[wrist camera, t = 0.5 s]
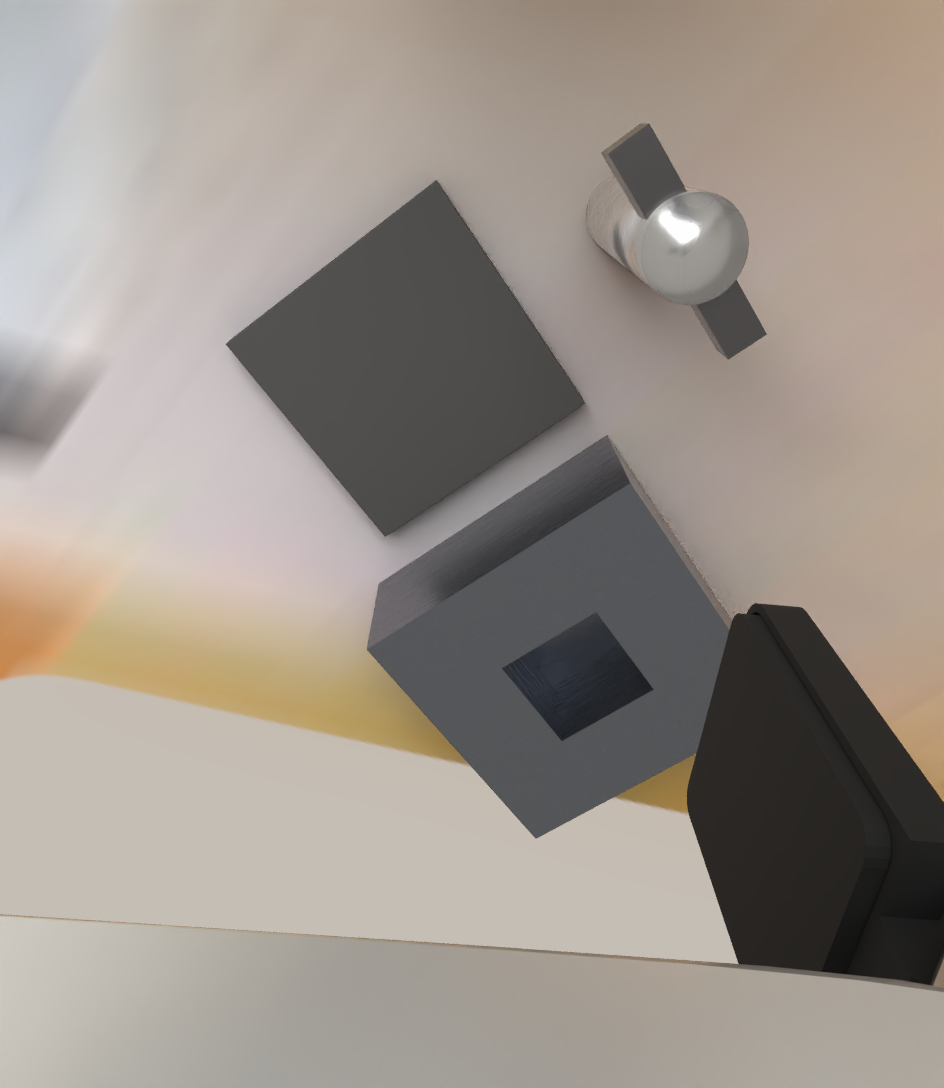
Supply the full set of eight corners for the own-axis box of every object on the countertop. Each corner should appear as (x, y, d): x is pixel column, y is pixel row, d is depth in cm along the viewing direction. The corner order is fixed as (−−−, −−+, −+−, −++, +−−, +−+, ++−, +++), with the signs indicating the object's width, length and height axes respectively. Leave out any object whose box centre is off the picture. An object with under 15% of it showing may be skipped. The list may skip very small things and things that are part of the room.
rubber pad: (436, 180, 32) (435, 181, 31) (581, 396, 36) (584, 403, 35) (231, 338, 34) (225, 344, 33) (387, 526, 38) (385, 536, 37)
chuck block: (607, 435, 36) (630, 482, 31) (742, 636, 40) (781, 707, 35) (379, 583, 39) (366, 649, 34) (527, 757, 43) (535, 838, 38)
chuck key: (610, 112, 31) (680, 101, 21) (698, 264, 33) (798, 320, 23) (545, 161, 32) (583, 174, 22) (635, 307, 34) (706, 379, 24)
